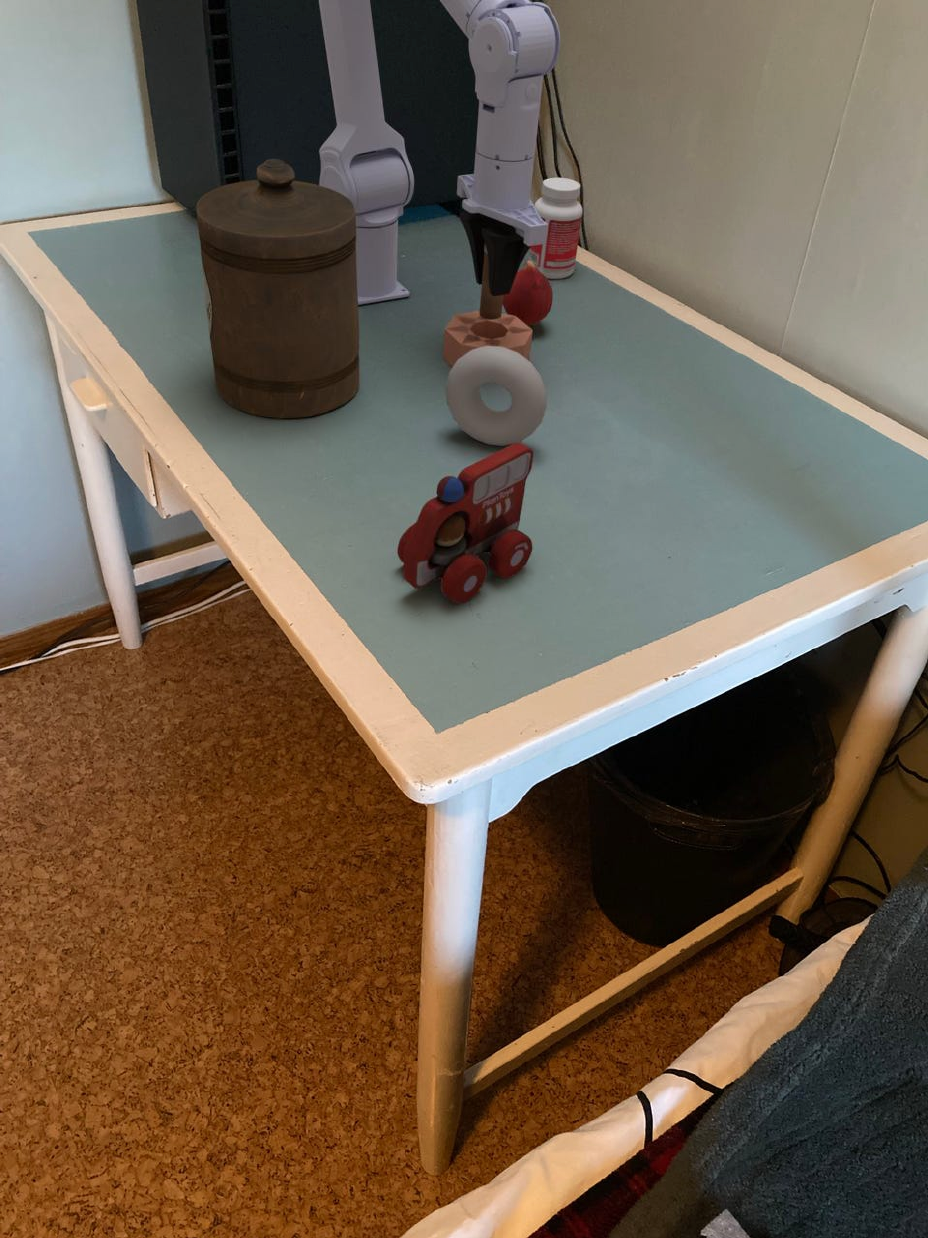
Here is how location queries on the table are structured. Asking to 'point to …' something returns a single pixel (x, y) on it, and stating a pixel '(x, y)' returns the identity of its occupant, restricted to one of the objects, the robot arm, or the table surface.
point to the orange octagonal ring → (485, 335)
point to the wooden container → (281, 293)
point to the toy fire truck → (471, 526)
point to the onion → (529, 296)
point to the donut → (507, 373)
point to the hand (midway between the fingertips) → (492, 287)
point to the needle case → (489, 295)
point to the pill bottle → (558, 228)
